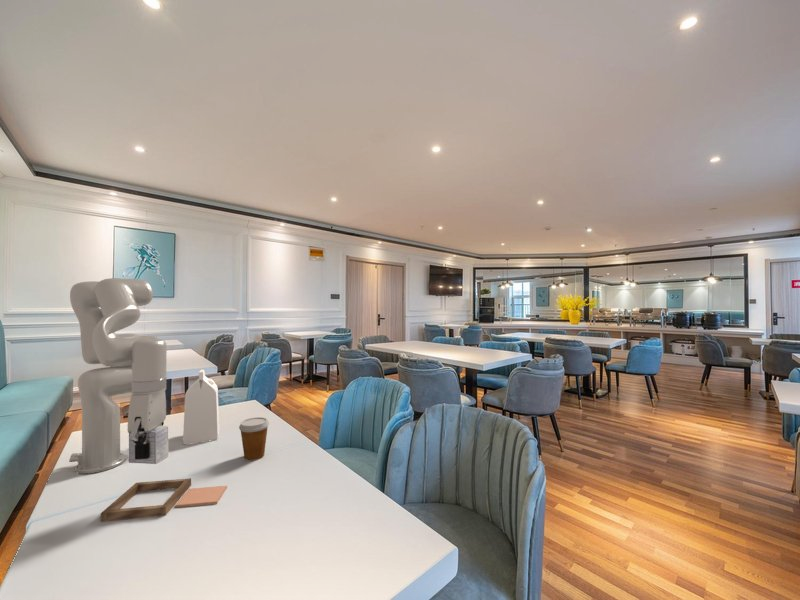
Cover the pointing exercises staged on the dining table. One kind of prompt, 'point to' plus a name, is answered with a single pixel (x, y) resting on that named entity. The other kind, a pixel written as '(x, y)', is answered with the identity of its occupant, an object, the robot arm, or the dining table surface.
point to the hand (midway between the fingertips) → (148, 452)
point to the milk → (201, 411)
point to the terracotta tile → (201, 496)
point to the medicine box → (152, 446)
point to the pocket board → (149, 511)
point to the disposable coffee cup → (254, 437)
